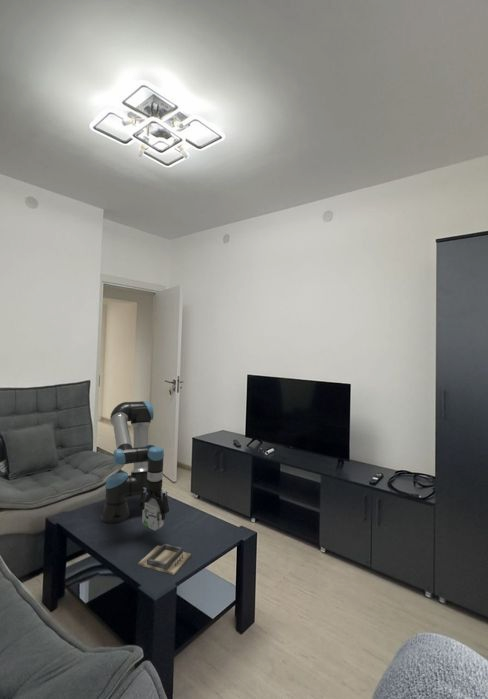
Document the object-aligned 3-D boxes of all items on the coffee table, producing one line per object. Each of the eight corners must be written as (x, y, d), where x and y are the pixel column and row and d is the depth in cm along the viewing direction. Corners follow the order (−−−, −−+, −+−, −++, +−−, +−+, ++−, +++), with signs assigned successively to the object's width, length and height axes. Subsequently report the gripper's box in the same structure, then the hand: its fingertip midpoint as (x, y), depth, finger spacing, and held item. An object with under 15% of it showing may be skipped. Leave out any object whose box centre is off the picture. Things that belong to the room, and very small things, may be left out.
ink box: (142, 525, 173) (143, 501, 173) (150, 521, 177) (151, 498, 177) (154, 531, 168) (155, 507, 168) (162, 526, 172) (163, 503, 172)
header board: (138, 565, 153) (138, 558, 153) (157, 547, 167) (157, 541, 167) (174, 575, 147) (174, 568, 147) (190, 555, 161) (191, 549, 161)
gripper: (131, 477, 172) (129, 522, 172) (169, 485, 165) (167, 532, 165) (140, 472, 179) (138, 515, 180) (178, 480, 172) (175, 525, 172)
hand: (152, 523), depth 172 cm, fingers closed on ink box, 9 cm apart
